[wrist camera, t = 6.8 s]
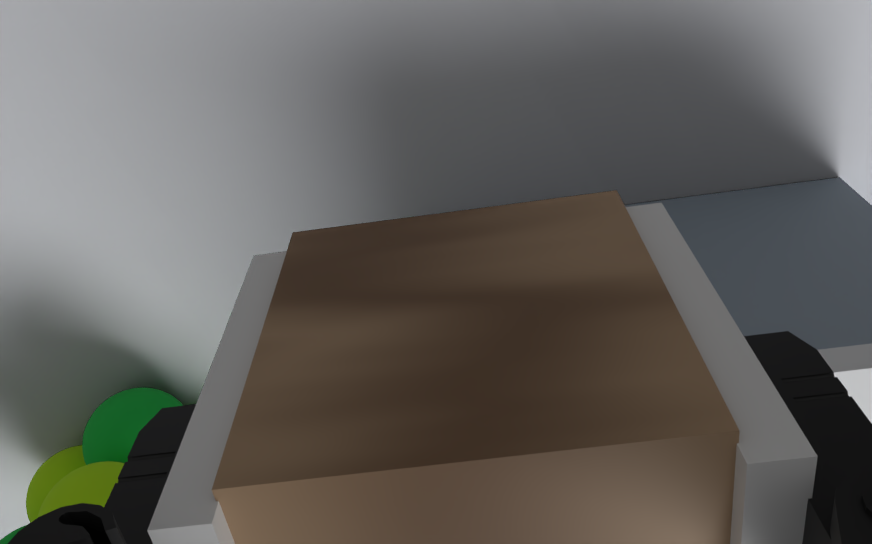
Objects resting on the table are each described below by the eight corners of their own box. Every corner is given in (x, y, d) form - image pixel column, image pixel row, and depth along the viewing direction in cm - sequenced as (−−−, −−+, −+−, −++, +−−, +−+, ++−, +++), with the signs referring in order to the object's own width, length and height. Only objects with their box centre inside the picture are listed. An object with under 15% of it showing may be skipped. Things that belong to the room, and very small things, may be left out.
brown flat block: (326, 361, 16) (273, 651, 11) (292, 232, 15) (210, 489, 9) (620, 326, 16) (727, 606, 10) (616, 190, 14) (739, 431, 9)
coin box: (460, 492, 38) (472, 723, 28) (416, 232, 31) (411, 420, 21) (804, 455, 37) (937, 680, 27) (839, 177, 30) (1034, 349, 20)
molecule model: (191, 552, 40) (304, 457, 36) (134, 729, 32) (271, 627, 29) (33, 461, 36) (141, 349, 33) (-71, 633, 29) (57, 508, 26)
